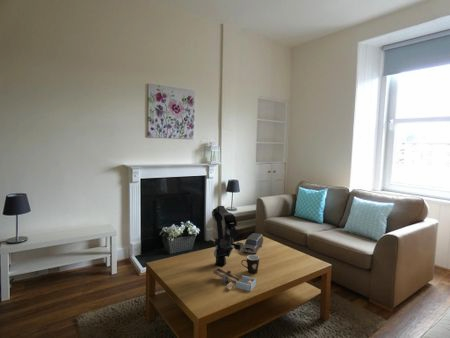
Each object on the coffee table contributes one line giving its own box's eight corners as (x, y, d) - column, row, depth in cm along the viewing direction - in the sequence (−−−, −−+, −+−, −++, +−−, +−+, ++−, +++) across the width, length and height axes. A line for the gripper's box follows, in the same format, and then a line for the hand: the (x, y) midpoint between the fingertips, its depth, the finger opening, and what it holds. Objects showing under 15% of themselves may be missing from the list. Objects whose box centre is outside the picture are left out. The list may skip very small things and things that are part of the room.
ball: (247, 281, 163) (252, 284, 162) (249, 278, 166) (254, 282, 165) (245, 284, 164) (249, 288, 163) (247, 282, 167) (251, 286, 166)
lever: (206, 279, 166) (207, 275, 166) (216, 270, 178) (217, 266, 177) (229, 291, 159) (230, 286, 159) (238, 281, 171) (239, 277, 170)
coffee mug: (260, 269, 187) (260, 255, 186) (258, 275, 179) (258, 260, 178) (243, 267, 190) (243, 253, 189) (240, 273, 182) (241, 258, 181)
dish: (236, 287, 164) (236, 281, 164) (242, 280, 172) (242, 275, 171) (250, 291, 160) (250, 285, 159) (256, 284, 168) (256, 278, 167)
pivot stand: (221, 283, 169) (221, 275, 168) (227, 277, 176) (227, 269, 176) (225, 284, 167) (226, 276, 167) (231, 278, 175) (231, 270, 174)
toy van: (263, 245, 234) (264, 233, 233) (255, 255, 212) (255, 243, 211) (251, 243, 238) (252, 231, 237) (242, 253, 216) (242, 241, 215)
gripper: (210, 234, 173) (209, 258, 175) (236, 239, 165) (236, 264, 166) (218, 229, 183) (218, 252, 185) (243, 234, 175) (243, 257, 176)
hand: (228, 256), depth 178 cm, fingers closed
